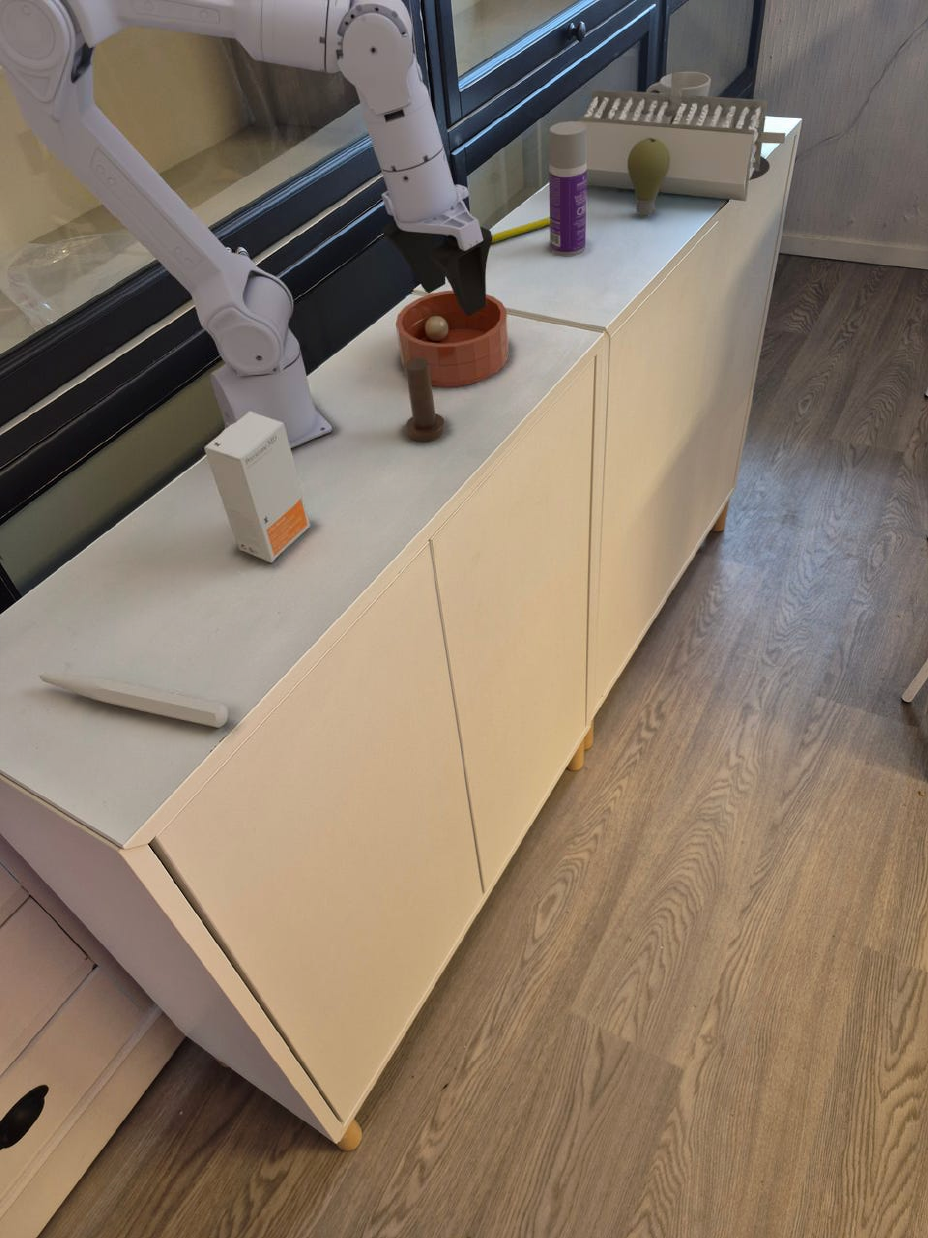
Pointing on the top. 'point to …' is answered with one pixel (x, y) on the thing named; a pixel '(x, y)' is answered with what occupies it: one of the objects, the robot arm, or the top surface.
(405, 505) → the top surface
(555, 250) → the container
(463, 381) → the bowl
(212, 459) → the cosmetic box
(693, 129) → the miniature building
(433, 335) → the bead
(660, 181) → the light bulb
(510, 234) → the pencil
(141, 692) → the tool
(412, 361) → the pestle
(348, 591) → the top surface
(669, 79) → the cup
